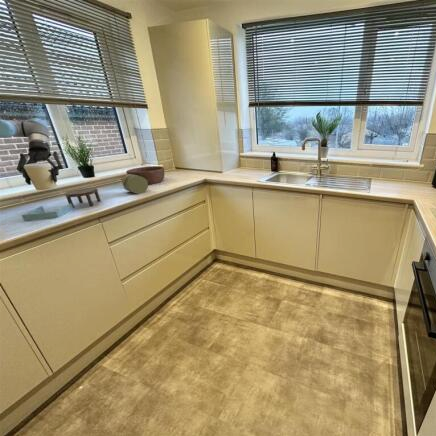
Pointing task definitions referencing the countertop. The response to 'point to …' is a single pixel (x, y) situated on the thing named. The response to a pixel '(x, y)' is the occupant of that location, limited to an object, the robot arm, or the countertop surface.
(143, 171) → the wooden bowl
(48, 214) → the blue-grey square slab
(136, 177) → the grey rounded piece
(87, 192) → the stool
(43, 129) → the robot arm
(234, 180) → the countertop surface
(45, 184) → the coffee cup
